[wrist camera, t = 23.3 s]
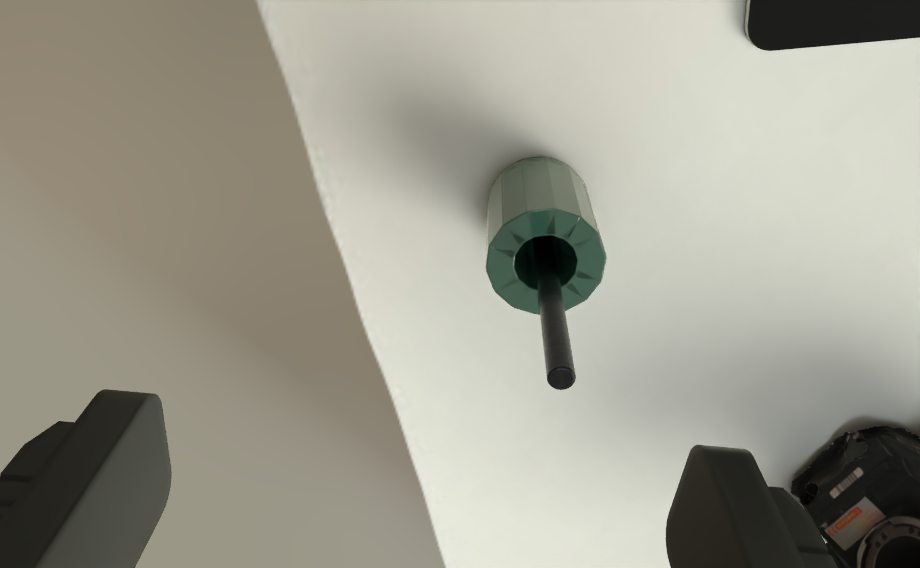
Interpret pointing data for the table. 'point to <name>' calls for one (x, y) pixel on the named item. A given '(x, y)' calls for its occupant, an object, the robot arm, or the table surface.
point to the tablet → (829, 22)
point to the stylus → (553, 316)
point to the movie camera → (867, 499)
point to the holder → (542, 232)
